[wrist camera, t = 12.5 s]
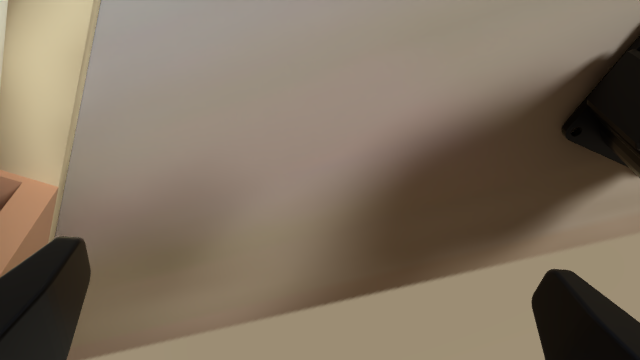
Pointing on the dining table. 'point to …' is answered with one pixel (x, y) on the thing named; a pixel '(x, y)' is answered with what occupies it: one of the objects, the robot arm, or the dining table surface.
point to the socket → (23, 218)
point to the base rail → (44, 87)
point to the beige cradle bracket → (2, 30)
